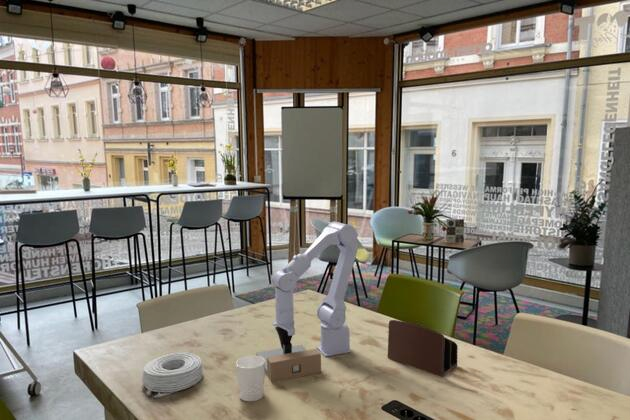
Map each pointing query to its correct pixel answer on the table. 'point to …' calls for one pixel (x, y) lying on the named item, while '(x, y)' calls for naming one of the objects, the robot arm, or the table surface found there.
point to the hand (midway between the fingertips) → (285, 348)
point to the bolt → (288, 349)
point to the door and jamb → (291, 362)
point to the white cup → (251, 377)
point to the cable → (172, 373)
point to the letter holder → (421, 348)
